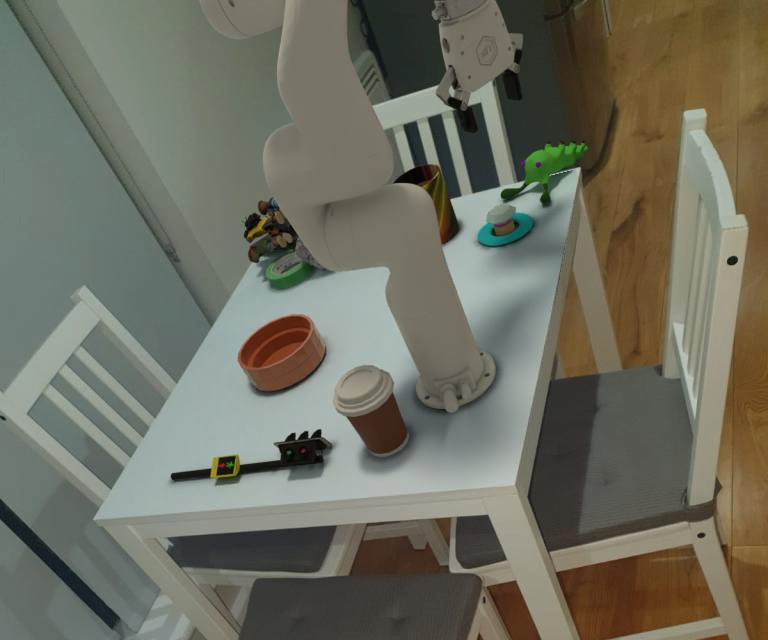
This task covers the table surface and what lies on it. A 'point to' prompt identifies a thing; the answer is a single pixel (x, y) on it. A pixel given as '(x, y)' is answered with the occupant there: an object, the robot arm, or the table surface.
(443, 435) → the table surface
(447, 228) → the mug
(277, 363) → the bowl
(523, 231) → the ornament
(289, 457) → the miniature traffic light
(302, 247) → the stone
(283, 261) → the tape roll
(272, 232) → the doll family
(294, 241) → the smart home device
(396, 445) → the cocoa
